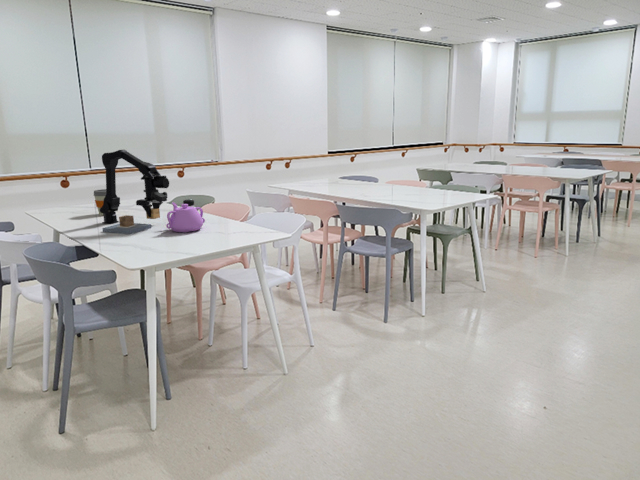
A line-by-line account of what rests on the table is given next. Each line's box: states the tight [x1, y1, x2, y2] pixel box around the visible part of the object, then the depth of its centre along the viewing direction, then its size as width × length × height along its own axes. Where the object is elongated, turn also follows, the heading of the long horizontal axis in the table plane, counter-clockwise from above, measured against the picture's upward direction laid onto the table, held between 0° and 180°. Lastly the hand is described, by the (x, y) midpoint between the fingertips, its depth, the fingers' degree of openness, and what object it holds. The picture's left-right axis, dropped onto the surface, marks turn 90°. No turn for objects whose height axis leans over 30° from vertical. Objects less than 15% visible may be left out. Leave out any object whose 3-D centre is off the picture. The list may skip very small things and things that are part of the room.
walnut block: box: [118, 214, 135, 227], centre depth 260 cm, size 5×5×5 cm
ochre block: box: [145, 207, 161, 220], centre depth 272 cm, size 5×5×5 cm
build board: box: [102, 222, 152, 235], centre depth 261 cm, size 18×16×2 cm
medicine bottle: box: [182, 198, 199, 212], centre depth 284 cm, size 7×7×12 cm
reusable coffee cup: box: [93, 188, 106, 216], centre depth 308 cm, size 12×13×15 cm
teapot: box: [165, 201, 206, 233], centre depth 259 cm, size 22×22×14 cm
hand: (153, 216), depth 272 cm, fingers closed on ochre block, 5 cm apart
